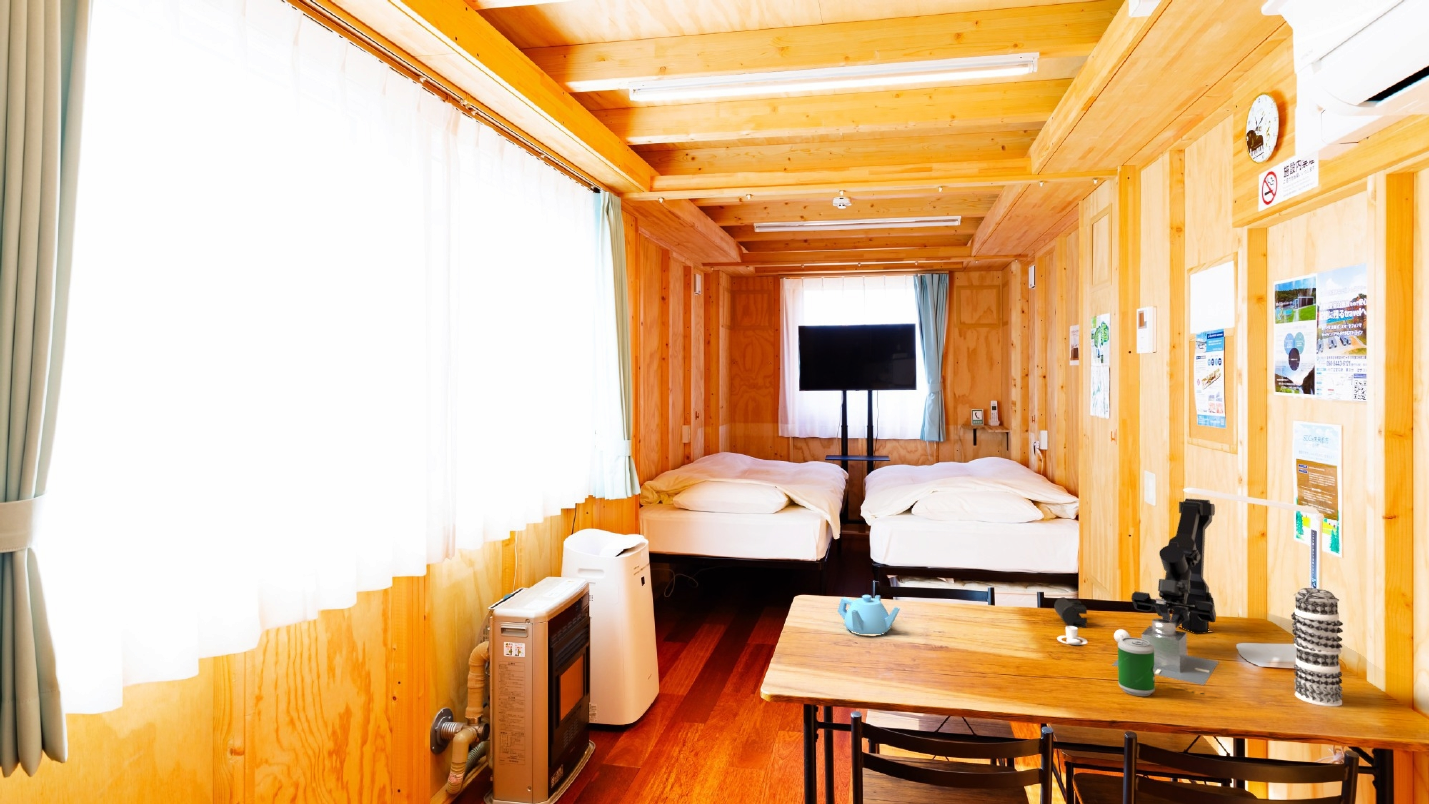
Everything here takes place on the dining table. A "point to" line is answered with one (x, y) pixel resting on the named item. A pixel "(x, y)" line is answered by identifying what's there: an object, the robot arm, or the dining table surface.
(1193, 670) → the turntable plate
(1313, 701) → the decorative candle
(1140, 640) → the soda can
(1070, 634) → the teacup and saucer
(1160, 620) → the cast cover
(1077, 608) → the end cap
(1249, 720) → the dining table surface
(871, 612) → the teapot
